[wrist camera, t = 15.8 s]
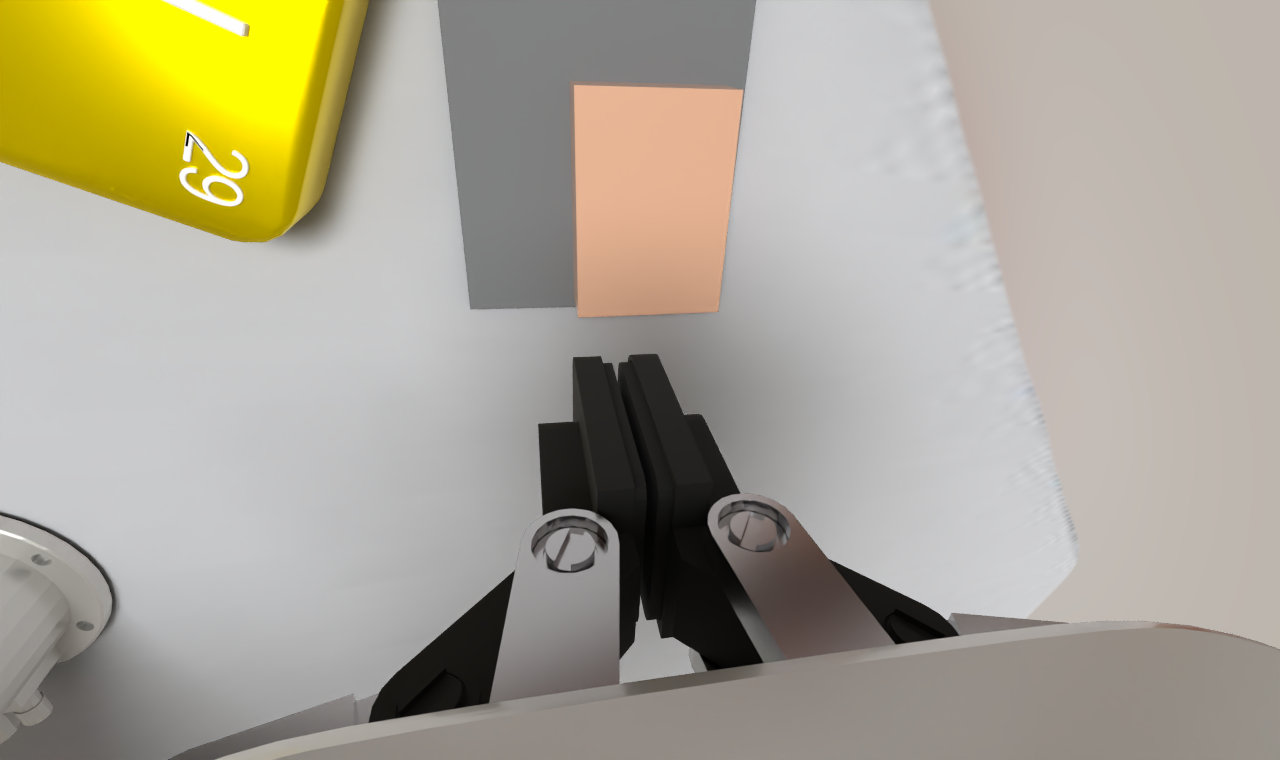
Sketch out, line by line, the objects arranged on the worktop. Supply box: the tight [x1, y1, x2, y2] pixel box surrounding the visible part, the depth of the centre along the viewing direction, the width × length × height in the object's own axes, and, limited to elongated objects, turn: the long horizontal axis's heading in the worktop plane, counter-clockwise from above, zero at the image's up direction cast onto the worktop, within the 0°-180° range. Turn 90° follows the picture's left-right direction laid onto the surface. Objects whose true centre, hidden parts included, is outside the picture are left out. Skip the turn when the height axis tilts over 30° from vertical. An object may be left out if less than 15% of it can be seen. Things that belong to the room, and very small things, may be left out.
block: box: [569, 81, 743, 318], centre depth 27 cm, size 10×2×7 cm
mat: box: [438, 0, 756, 309], centre depth 27 cm, size 17×13×1 cm
